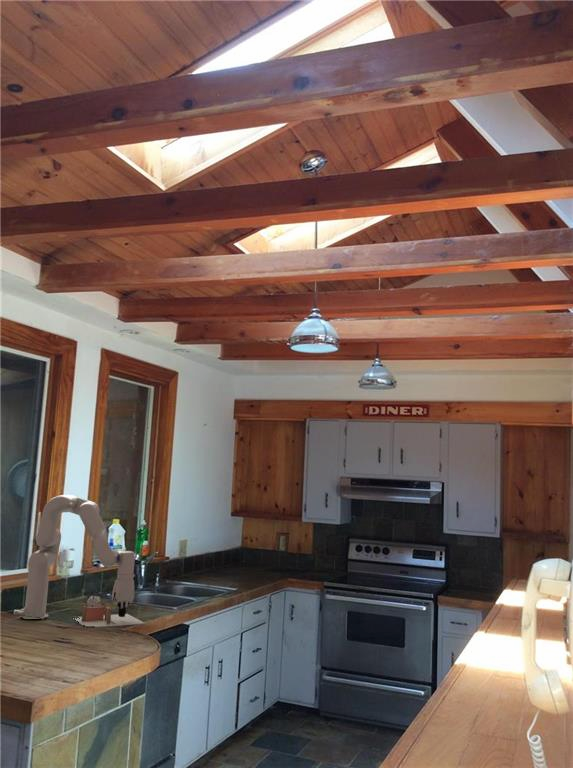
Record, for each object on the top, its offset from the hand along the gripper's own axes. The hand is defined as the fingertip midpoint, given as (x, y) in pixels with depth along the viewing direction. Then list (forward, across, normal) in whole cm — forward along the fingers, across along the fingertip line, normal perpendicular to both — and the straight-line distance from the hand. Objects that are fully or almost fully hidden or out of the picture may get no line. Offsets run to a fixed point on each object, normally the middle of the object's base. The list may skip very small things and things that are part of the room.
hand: (121, 616), depth 319 cm
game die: (+3, -4, -30) cm, 30 cm away
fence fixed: (+2, +9, -8) cm, 12 cm away
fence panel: (+2, +7, -1) cm, 7 cm away
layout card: (+3, +4, -5) cm, 7 cm away
